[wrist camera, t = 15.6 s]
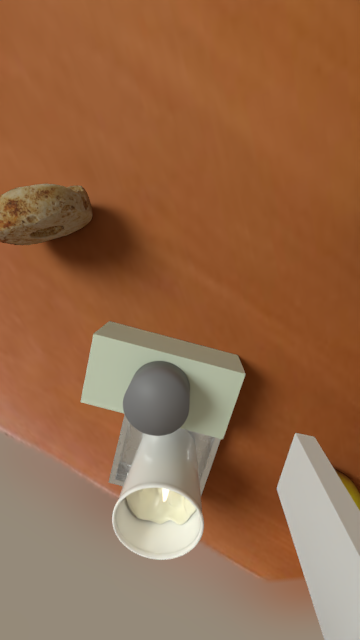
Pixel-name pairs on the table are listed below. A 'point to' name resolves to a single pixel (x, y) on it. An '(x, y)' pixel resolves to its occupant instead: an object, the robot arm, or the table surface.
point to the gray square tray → (132, 439)
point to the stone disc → (42, 213)
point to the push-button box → (162, 381)
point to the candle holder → (161, 498)
